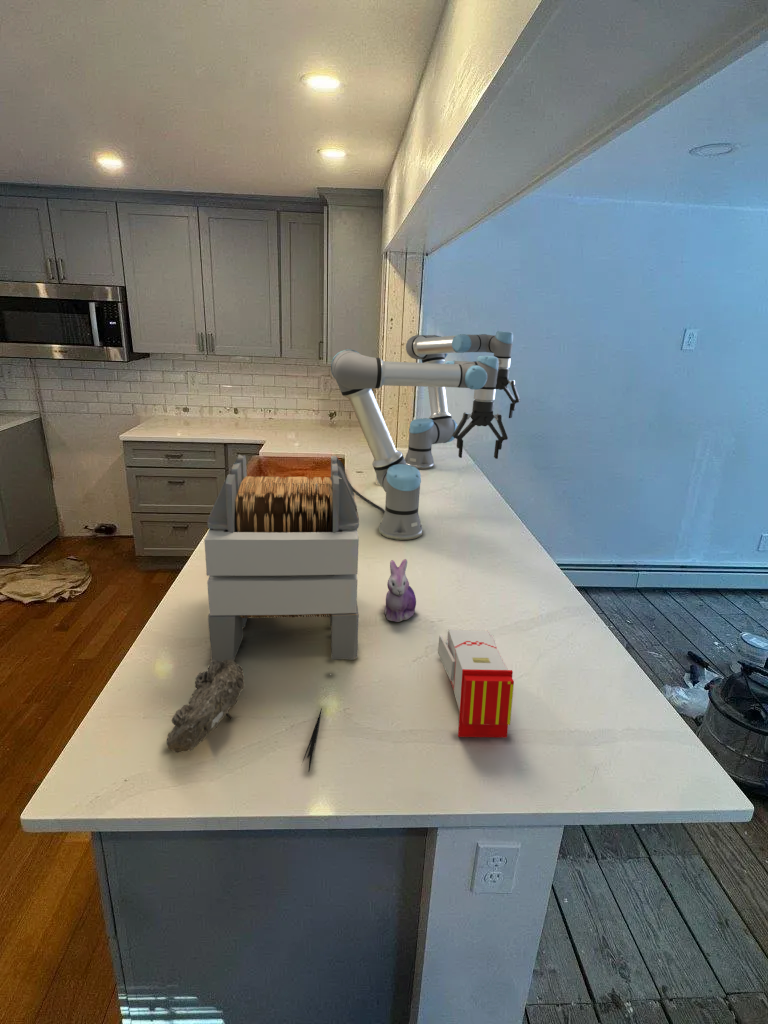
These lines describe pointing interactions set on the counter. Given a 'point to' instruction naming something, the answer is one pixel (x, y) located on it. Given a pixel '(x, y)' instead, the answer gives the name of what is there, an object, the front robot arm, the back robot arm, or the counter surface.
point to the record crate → (282, 556)
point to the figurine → (399, 594)
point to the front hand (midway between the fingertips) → (477, 457)
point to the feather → (313, 740)
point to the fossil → (206, 705)
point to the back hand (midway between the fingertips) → (495, 416)
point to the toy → (478, 682)
